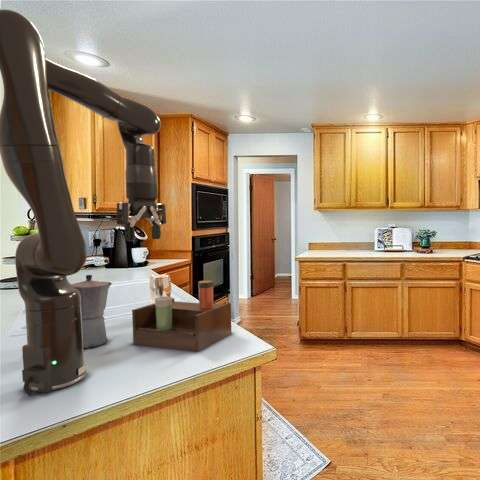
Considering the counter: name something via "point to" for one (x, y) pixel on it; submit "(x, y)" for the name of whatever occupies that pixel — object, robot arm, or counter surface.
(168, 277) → the beer glass
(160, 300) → the cylinder
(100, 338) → the moka pot
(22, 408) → the counter surface
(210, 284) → the pepper shaker
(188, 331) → the spice rack
